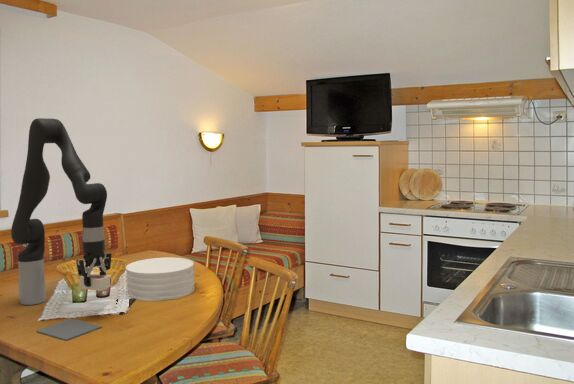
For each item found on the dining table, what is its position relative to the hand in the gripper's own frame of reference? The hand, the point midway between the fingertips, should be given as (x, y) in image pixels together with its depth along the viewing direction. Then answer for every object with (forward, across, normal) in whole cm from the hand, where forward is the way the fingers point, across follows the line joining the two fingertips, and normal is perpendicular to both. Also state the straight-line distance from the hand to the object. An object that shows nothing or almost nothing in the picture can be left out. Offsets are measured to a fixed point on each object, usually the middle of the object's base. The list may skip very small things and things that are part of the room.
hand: (95, 284), depth 196 cm
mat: (+12, +14, +3) cm, 19 cm away
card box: (+1, 0, 0) cm, 1 cm away
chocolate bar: (+13, -11, -2) cm, 17 cm away
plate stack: (+13, -36, -3) cm, 38 cm away
